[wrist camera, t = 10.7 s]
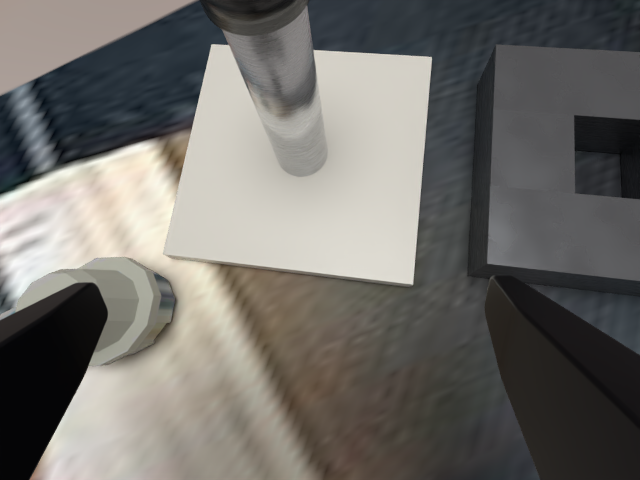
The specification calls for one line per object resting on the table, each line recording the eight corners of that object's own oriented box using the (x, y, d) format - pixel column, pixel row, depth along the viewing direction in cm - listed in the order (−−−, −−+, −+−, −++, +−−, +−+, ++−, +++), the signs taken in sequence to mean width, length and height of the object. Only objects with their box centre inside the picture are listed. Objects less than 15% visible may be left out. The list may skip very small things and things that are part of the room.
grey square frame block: (707, 304, 21) (775, 296, 18) (467, 276, 22) (487, 263, 19) (689, 98, 24) (744, 57, 20) (477, 84, 25) (495, 44, 22)
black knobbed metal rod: (342, 166, 24) (327, -36, 11) (285, 191, 24) (204, 14, 11) (318, 116, 25) (280, -123, 12) (263, 139, 24) (166, -77, 12)
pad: (410, 287, 23) (413, 284, 22) (170, 257, 24) (162, 254, 23) (429, 67, 26) (431, 57, 25) (216, 55, 28) (211, 44, 27)
